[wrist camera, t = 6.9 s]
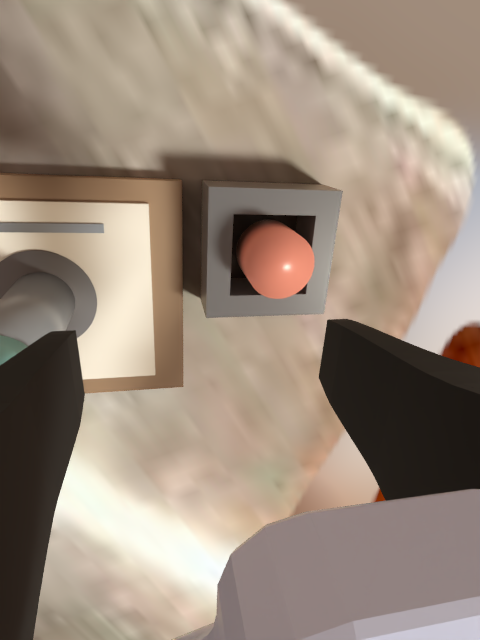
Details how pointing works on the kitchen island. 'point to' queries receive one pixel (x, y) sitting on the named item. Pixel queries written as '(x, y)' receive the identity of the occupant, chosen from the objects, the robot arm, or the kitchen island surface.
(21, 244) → the board
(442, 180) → the kitchen island surface
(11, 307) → the marker
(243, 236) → the button
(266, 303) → the button housing
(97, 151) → the kitchen island surface
